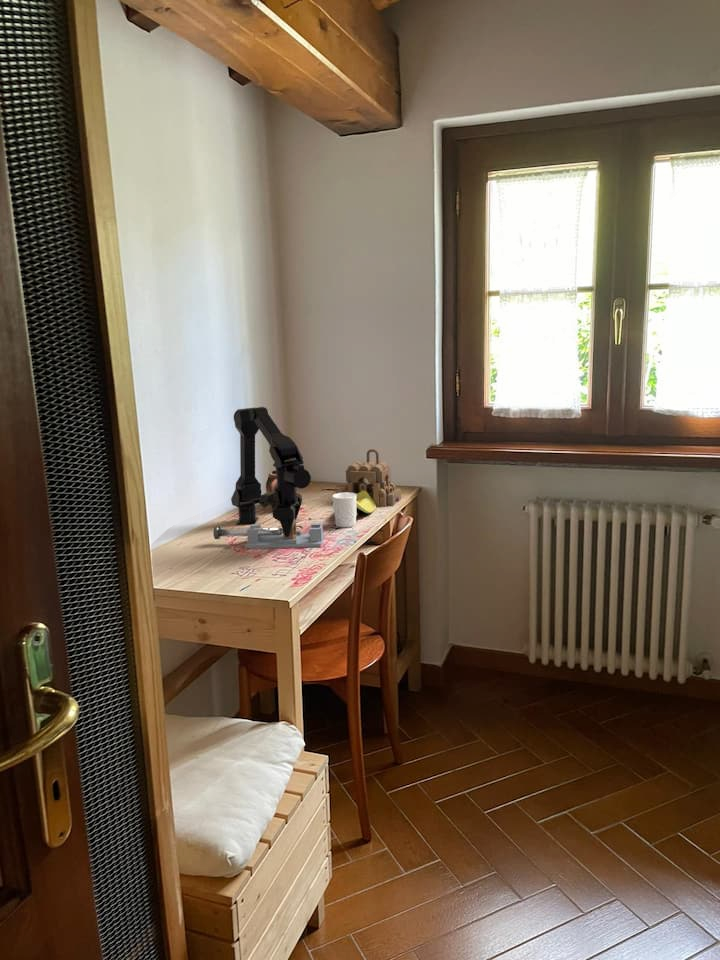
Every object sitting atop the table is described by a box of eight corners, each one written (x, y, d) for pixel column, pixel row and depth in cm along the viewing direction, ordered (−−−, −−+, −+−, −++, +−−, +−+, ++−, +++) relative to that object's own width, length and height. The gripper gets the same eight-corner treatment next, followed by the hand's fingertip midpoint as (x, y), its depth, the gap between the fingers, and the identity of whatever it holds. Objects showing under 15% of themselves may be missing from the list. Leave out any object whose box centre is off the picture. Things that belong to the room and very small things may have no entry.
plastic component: (343, 500, 264) (367, 488, 262) (353, 518, 265) (377, 506, 262) (330, 510, 245) (356, 498, 243) (340, 530, 245) (366, 517, 243)
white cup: (335, 529, 237) (333, 499, 235) (332, 522, 245) (331, 493, 242) (359, 526, 238) (358, 497, 236) (356, 520, 246) (354, 491, 244)
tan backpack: (334, 504, 268) (331, 454, 264) (348, 495, 281) (346, 447, 277) (390, 508, 260) (389, 456, 256) (403, 497, 273) (402, 448, 269)
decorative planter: (292, 516, 254) (289, 477, 251) (258, 515, 257) (256, 477, 253) (308, 501, 273) (306, 465, 270) (277, 501, 276) (274, 465, 272)
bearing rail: (252, 538, 231) (250, 523, 230) (324, 536, 229) (323, 521, 228) (245, 548, 221) (243, 532, 220) (320, 546, 220) (319, 530, 219)
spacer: (287, 536, 228) (286, 518, 227) (296, 535, 228) (295, 518, 227) (283, 542, 222) (282, 524, 221) (293, 542, 222) (292, 524, 220)
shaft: (217, 537, 229) (216, 524, 228) (284, 535, 227) (283, 523, 226) (214, 540, 225) (213, 528, 224) (282, 539, 223) (281, 526, 222)
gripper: (265, 476, 231) (269, 523, 234) (253, 490, 213) (257, 542, 216) (300, 475, 230) (303, 523, 233) (291, 489, 212) (294, 541, 215)
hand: (289, 532), depth 225 cm, fingers open, 9 cm apart
